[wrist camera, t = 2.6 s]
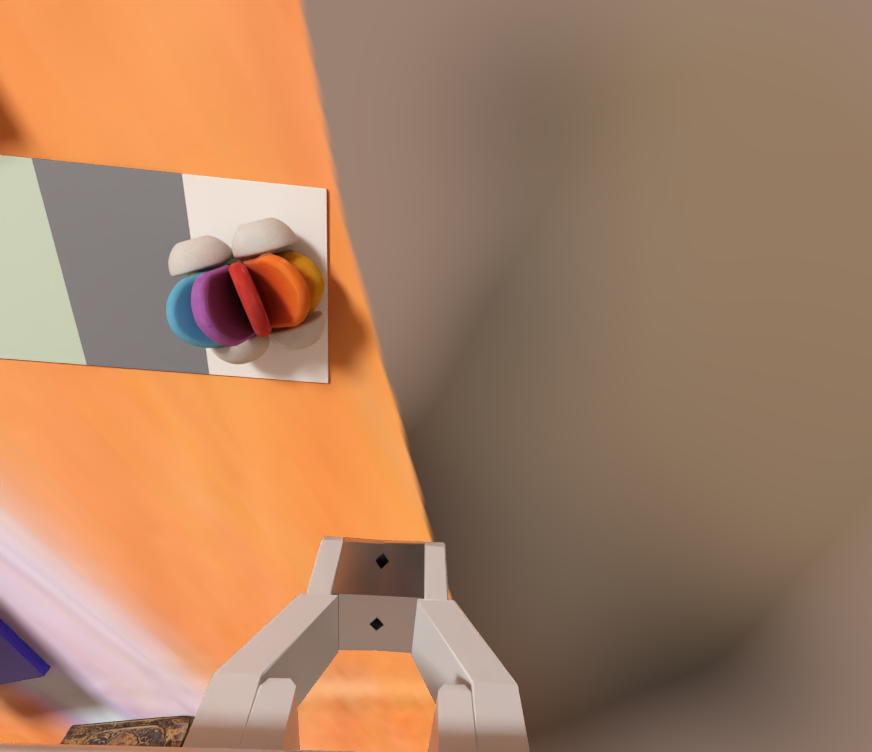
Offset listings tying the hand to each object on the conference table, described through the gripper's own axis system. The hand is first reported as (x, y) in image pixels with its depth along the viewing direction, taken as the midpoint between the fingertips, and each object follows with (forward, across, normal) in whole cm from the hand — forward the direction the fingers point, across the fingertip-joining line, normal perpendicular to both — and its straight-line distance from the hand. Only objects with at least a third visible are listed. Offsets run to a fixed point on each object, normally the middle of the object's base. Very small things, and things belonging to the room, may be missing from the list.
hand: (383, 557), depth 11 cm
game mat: (+23, +20, 0) cm, 30 cm away
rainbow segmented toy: (+23, +10, 0) cm, 25 cm away
